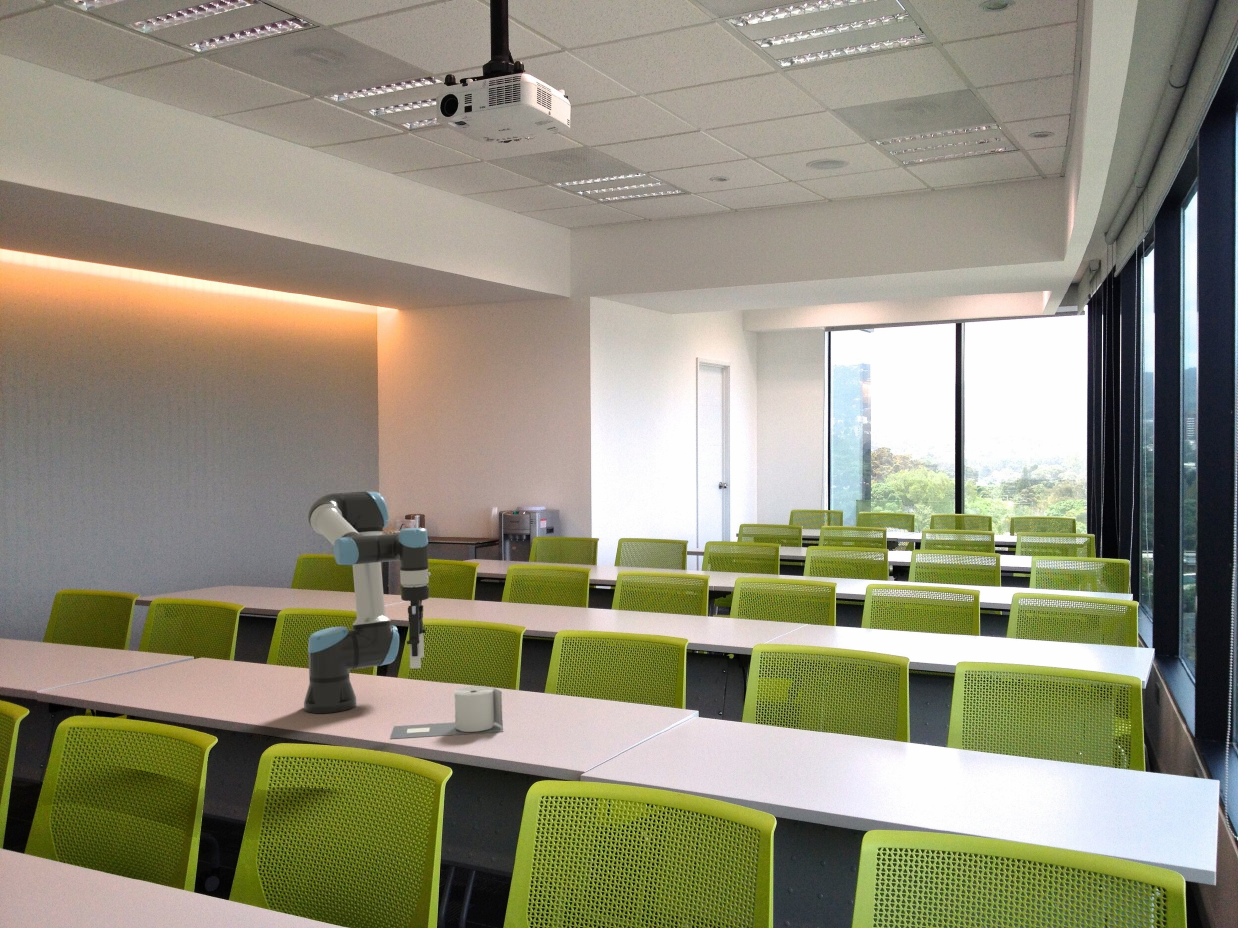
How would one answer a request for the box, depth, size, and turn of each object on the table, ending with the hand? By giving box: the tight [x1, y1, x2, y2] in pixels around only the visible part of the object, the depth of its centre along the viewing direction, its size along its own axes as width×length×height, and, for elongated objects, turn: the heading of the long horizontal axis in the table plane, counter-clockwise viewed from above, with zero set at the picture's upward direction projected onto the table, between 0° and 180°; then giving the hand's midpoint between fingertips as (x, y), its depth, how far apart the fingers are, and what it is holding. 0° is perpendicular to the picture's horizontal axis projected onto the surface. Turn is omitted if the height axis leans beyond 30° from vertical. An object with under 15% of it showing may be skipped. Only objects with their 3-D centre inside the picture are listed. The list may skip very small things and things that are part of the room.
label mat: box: [389, 719, 504, 740], centre depth 275 cm, size 30×12×1 cm, turn 98°
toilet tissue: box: [453, 685, 504, 732], centre depth 276 cm, size 11×12×10 cm
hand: (417, 662), depth 273 cm, fingers open, 13 cm apart
